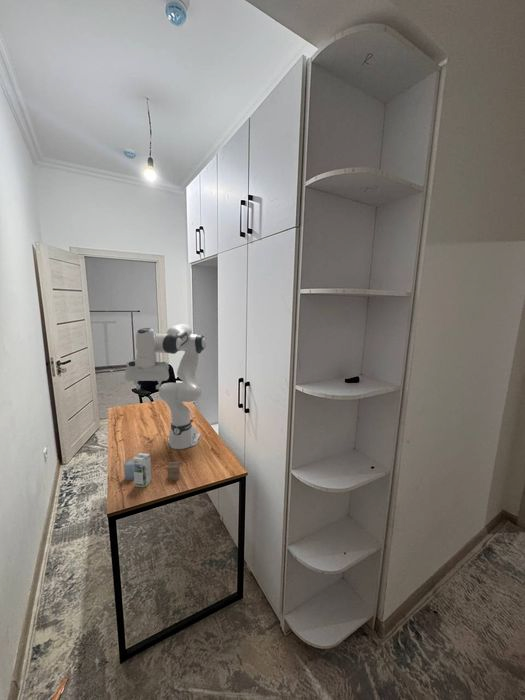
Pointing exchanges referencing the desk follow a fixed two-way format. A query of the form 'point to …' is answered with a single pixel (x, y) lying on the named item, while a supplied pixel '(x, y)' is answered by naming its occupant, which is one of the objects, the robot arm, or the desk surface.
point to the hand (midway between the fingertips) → (148, 389)
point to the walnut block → (173, 471)
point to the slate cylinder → (129, 470)
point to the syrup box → (142, 469)
